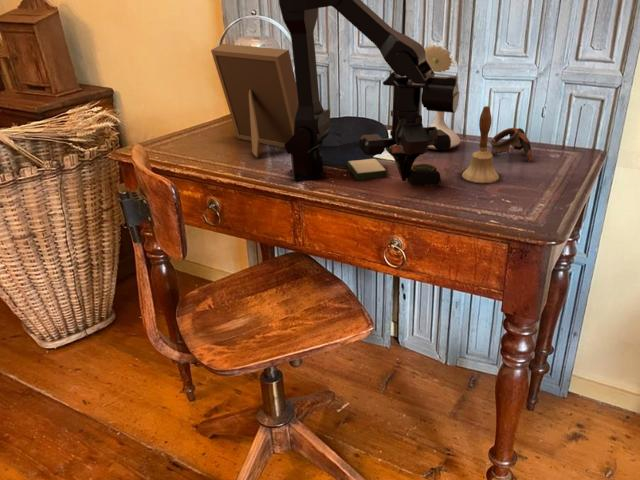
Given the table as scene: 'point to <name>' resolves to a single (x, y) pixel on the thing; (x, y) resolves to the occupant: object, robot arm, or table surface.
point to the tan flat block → (366, 169)
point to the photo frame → (258, 92)
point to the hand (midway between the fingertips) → (403, 180)
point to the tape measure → (423, 175)
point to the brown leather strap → (512, 142)
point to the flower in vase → (439, 63)
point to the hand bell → (482, 155)
